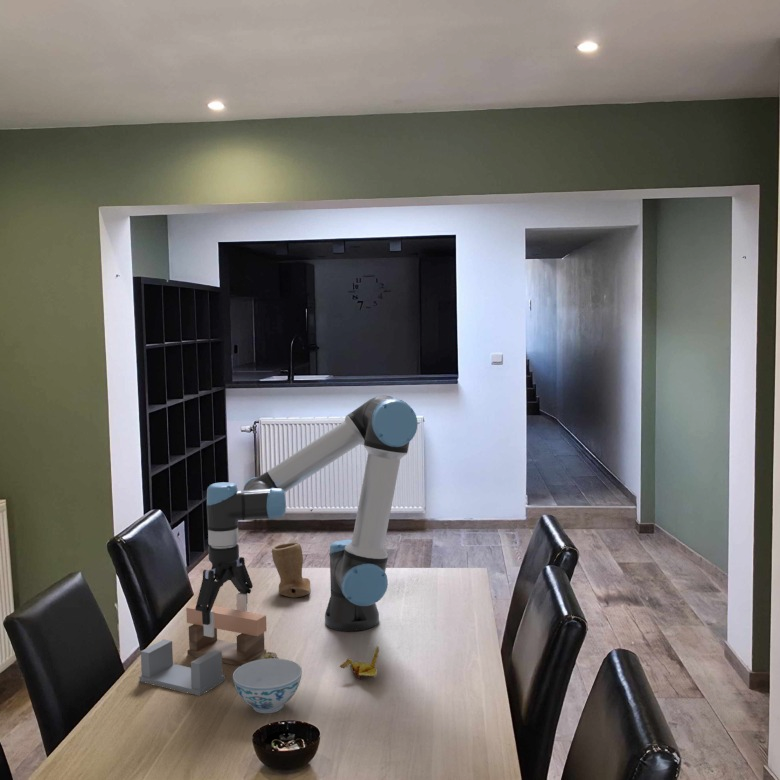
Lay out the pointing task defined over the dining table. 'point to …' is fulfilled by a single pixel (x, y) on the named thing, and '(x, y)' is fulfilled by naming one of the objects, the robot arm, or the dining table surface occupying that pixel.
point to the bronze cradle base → (226, 646)
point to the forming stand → (180, 669)
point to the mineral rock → (267, 656)
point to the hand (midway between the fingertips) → (226, 627)
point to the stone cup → (290, 569)
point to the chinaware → (267, 683)
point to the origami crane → (363, 666)
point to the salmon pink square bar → (231, 620)
